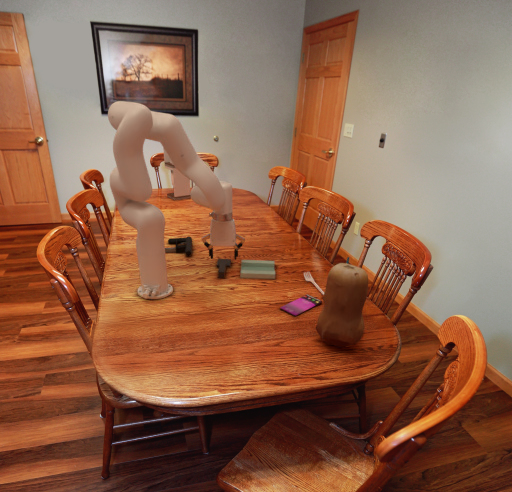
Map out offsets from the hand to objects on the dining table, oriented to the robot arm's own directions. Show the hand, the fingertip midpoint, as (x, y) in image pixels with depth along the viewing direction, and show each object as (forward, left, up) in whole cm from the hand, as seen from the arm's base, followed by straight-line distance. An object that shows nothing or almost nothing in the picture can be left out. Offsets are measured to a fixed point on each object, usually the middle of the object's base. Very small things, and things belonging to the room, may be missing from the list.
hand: (223, 258), depth 163 cm
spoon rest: (0, -14, -5) cm, 15 cm away
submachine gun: (+22, +23, -6) cm, 32 cm away
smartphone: (-29, -30, -5) cm, 42 cm away
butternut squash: (-52, -39, -5) cm, 65 cm away
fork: (-12, -37, -5) cm, 39 cm away
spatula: (0, 0, -5) cm, 5 cm away
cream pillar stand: (+116, +38, -5) cm, 122 cm away
